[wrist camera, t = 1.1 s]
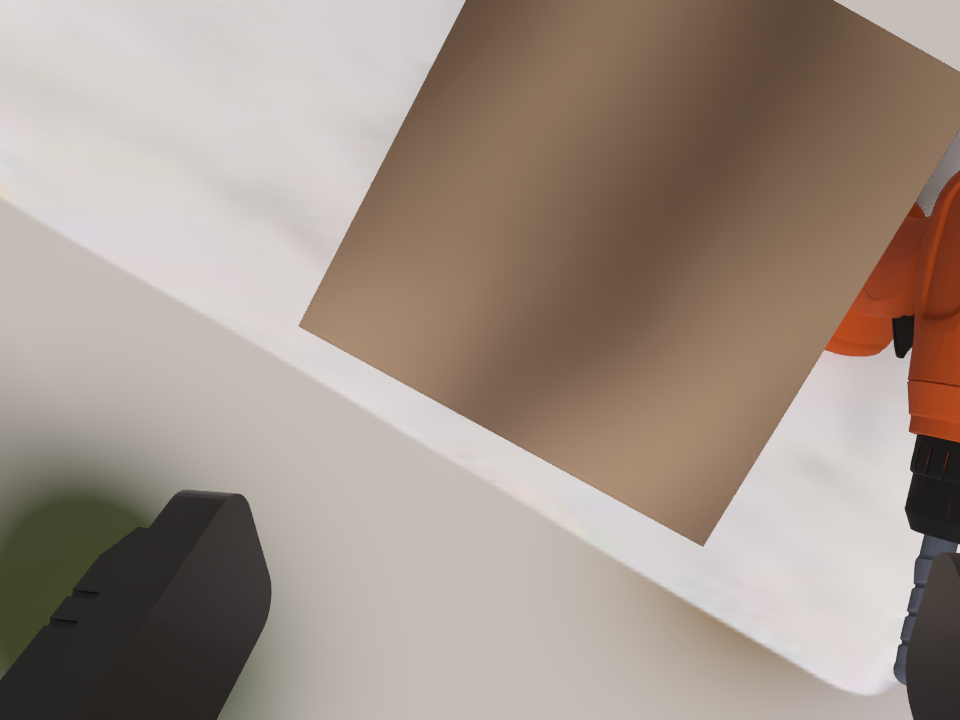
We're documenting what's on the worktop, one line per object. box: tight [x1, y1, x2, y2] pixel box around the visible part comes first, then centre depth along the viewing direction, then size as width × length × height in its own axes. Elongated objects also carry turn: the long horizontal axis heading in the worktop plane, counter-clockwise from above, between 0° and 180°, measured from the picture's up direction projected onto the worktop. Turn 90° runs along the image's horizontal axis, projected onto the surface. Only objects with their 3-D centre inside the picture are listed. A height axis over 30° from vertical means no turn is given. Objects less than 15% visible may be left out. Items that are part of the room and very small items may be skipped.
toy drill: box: [825, 171, 960, 685], centre depth 32 cm, size 5×19×15 cm, turn 167°
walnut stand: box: [299, 0, 960, 547], centre depth 28 cm, size 10×11×22 cm
